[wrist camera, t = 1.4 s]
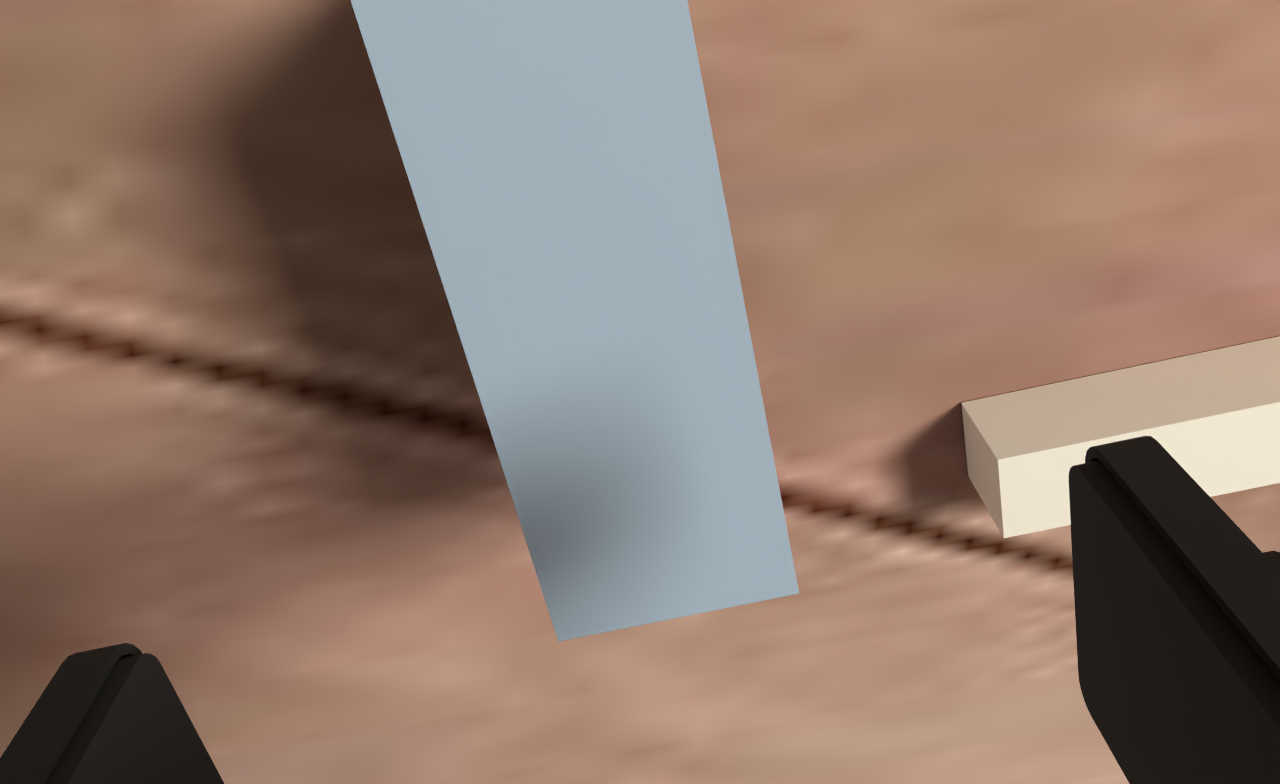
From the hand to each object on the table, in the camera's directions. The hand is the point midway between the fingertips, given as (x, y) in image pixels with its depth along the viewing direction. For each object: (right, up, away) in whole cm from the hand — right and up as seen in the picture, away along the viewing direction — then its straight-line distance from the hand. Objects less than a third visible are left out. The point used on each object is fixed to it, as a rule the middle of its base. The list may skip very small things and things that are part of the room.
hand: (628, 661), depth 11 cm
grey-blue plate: (-1, +8, +15) cm, 17 cm away
